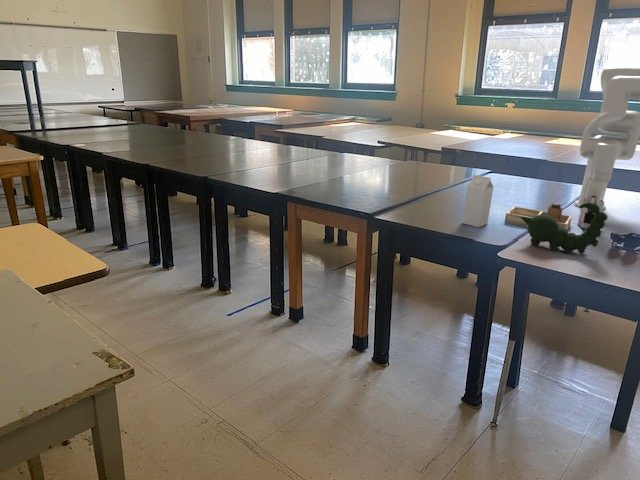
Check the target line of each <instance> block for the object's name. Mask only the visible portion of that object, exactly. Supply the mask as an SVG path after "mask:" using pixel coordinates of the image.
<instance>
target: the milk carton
mask: <svg viewBox="0 0 640 480" xmlns="http://www.w3.org/2000/svg"><path fill="white" fill-rule="evenodd" d="M493 192H494V186H493V183H492V179H491V177H488V176H485V175H479V174H478V175H477V174H475V173H474V174H473V175H472V178H471V180H470V181H469V182H468V184H467V187H466V193H465V199H464V200H465V201H464V207H463V215H462V221H461V222H462V224H466V225H469V226H471V227H476V228H480V227H483V226H485V225H487V224H488V222H489V217H490V210H491V204H492V197H493Z"/></svg>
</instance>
